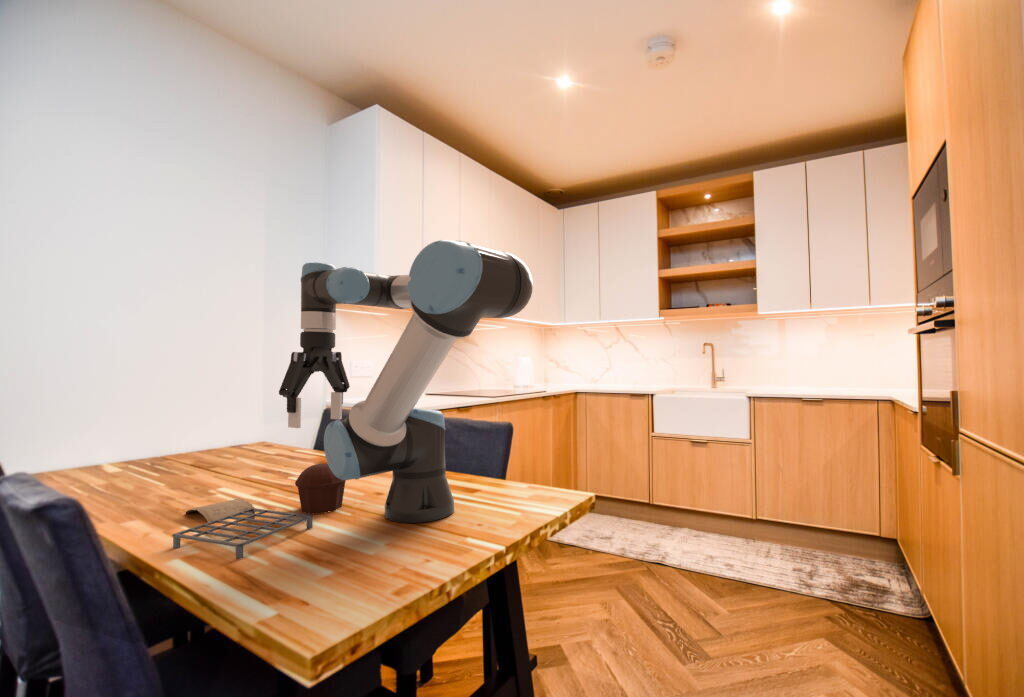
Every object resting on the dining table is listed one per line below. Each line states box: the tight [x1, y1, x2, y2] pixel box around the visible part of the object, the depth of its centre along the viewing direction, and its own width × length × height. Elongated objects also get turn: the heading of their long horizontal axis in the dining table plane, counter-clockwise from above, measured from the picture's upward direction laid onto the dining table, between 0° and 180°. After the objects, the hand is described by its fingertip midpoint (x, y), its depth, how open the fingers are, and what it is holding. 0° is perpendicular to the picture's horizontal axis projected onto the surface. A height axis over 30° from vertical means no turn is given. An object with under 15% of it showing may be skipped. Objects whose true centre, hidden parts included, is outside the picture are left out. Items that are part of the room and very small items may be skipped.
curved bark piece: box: [185, 497, 257, 523], centre depth 110 cm, size 14×10×3 cm
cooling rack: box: [171, 507, 314, 560], centre depth 94 cm, size 17×17×2 cm
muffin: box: [294, 462, 347, 515], centre depth 113 cm, size 12×11×10 cm
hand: (316, 423), depth 112 cm, fingers open, 13 cm apart
